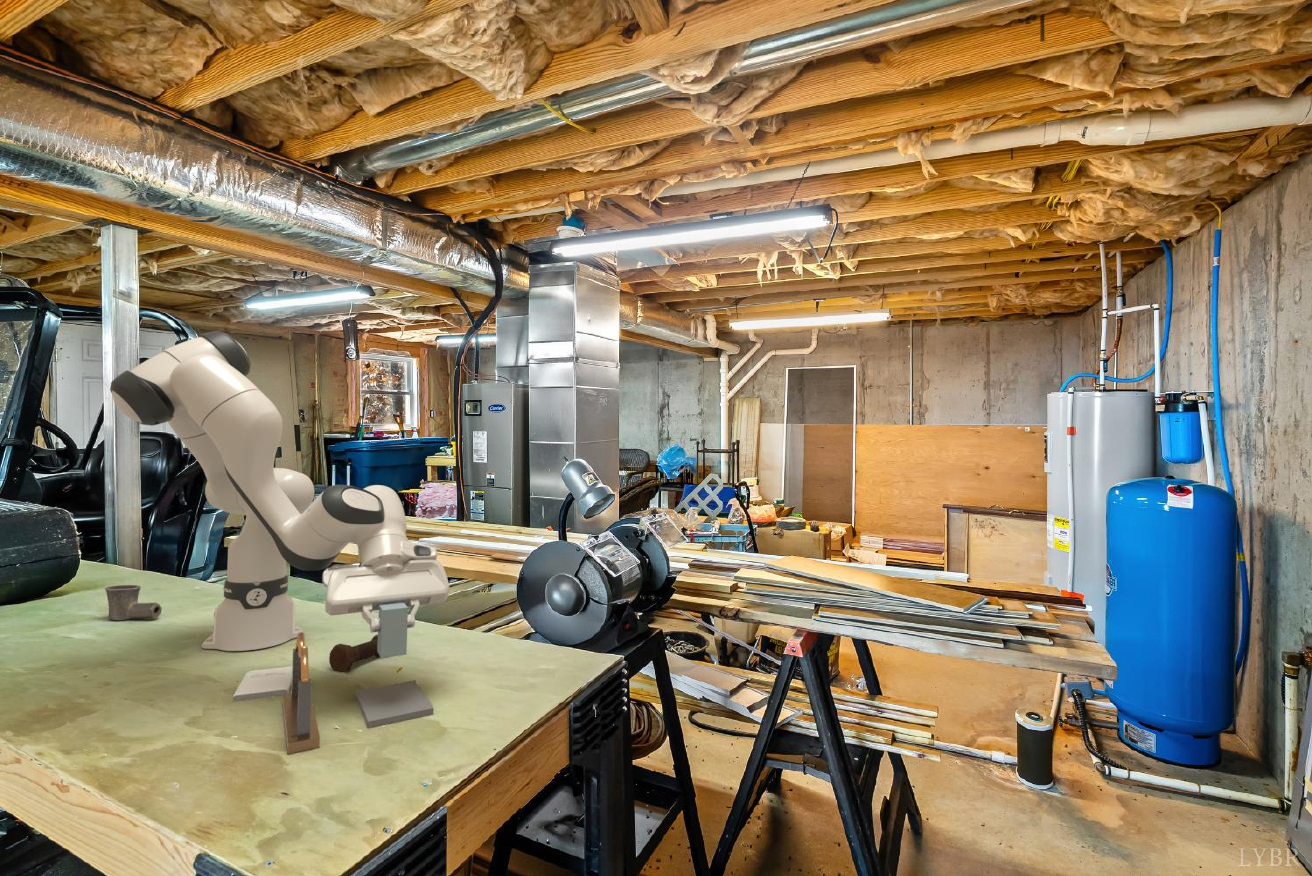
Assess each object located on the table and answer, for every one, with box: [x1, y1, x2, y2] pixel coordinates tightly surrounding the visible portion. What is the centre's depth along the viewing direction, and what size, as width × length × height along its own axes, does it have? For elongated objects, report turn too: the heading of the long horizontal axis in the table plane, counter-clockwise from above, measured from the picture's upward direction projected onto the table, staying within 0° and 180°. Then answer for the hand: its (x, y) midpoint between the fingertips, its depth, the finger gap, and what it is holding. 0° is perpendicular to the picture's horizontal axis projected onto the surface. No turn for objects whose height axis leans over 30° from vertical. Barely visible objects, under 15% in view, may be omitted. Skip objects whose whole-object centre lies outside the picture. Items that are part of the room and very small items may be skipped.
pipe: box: [104, 584, 163, 621], centre depth 149 cm, size 6×13×8 cm, turn 89°
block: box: [377, 602, 409, 659], centre depth 104 cm, size 4×4×8 cm
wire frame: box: [282, 631, 321, 755], centre depth 97 cm, size 20×4×14 cm, turn 34°
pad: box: [355, 679, 434, 729], centre depth 104 cm, size 14×10×1 cm
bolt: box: [328, 634, 381, 673], centre depth 126 cm, size 6×5×15 cm
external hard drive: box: [232, 666, 292, 702], centre depth 112 cm, size 2×8×12 cm
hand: (393, 628), depth 104 cm, fingers closed on block, 4 cm apart
